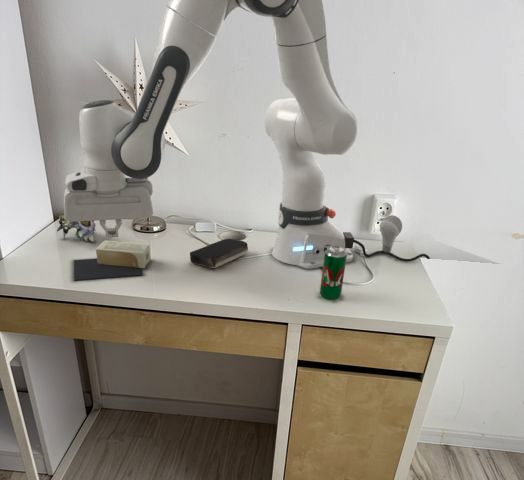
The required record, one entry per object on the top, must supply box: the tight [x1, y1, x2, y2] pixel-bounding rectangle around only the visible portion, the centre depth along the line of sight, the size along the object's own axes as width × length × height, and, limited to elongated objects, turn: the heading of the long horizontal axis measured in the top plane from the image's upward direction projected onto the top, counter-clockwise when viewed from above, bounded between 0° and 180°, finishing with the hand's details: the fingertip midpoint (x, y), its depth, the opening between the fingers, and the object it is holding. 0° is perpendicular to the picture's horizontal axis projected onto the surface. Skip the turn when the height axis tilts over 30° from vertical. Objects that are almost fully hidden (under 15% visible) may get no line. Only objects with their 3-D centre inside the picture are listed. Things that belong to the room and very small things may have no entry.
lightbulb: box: [379, 214, 403, 253], centre depth 145 cm, size 6×6×11 cm
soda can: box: [319, 246, 347, 301], centre depth 120 cm, size 5×5×12 cm
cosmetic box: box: [95, 239, 152, 269], centre depth 132 cm, size 6×4×12 cm
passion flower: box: [56, 214, 98, 243], centre depth 144 cm, size 11×11×12 cm
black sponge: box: [189, 238, 249, 269], centre depth 138 cm, size 16×8×4 cm, turn 143°
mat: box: [73, 258, 143, 282], centre depth 130 cm, size 16×12×1 cm
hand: (112, 236), depth 126 cm, fingers closed
